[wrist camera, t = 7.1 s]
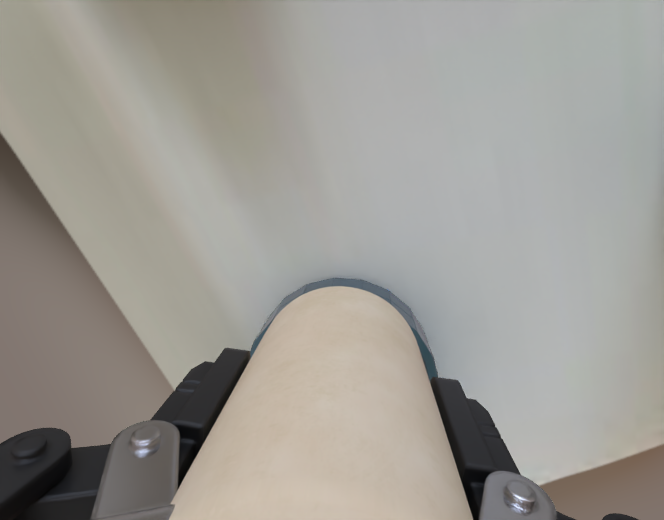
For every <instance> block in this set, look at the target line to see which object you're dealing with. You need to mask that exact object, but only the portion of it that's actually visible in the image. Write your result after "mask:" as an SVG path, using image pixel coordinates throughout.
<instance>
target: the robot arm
mask: <svg viewBox="0 0 664 520" xmlns="http://www.w3.org/2000/svg"><path fill="white" fill-rule="evenodd" d="M250 359H251V355H250V351H245V350H238V349H231V348H225V349H224V350H223V352H222V353H221V354H220V356H219V357H218V359H217V360H216V361H215V363H212V362H204V363H202V364H200V365H198V366H197V367H195V368H193V369H191V371H190V372H189V373H188V374H187V375H186V377H185V378H184V379H183V382H181V383H180V384H179V385H178V387H177V388H176V390H175V391H174V392H173V393H172V394H171V395H170V397H169V398H168V399H167V400H166V401H165V403H164V404H163V405H162V406H161V408H160V409H159V410H158V411H157V413H156V414H155V415H154V416H153V417H152V419H151V420H149V421H143V422H140V423H136V424H134V425H131V426H129V427H127V428H126V429H124V430H123V431H121V432H120V433H119V434H118V435H117V436H116V437H115V438H114V440H113V441H112V443H111V444H108V445H100V446H90V447H79V448H71V439H70V436H69V434H68V433H67V432H65V431H63V430H61V429H56V428H41V429H34V430H30V431H27V432H23V433H21V434H18V435H16V436H14V437H11V438H9V439H8V440H6V441H4V442H3V443H1V444H0V520H169V518H170V516H171V514H172V512H173V510H174V507H175V504H171V502H172V500H173V498H174V496H175V495H176V493H177V490H178V488H179V487H180V485H181V483H182V481H183V479H184V478H185V476H186V474H187V472H188V470H189V469H190V467H191V465H192V463H193V461H194V460H195V458H196V456H197V454H198V452H199V451H200V449H201V447H202V445H203V444H204V442H205V440H206V438H207V436H208V435H209V433H210V431H211V429H212V427H213V426H214V424H215V422H216V420H217V418H218V417H219V415H220V413H221V411H222V409H223V408H224V406H225V404H226V402H227V400H228V399H229V397H230V395H231V393H232V392H233V390H234V388H235V386H236V384H237V383H238V381H239V379H240V377H241V375H242V374H243V372H244V370H245V368H246V366H247V365H248V363H249V361H250ZM430 384H431V387H432V391H433V394H434V397H435V400H436V403H437V406H438V409H439V413H440V416H441V419H442V422H443V425H444V428H445V432H446V435H447V438H448V441H449V444H450V447H451V451H452V454H453V457H454V460H455V463H456V466H457V469H458V473H459V476H460V479H461V482H462V485H463V488H464V492H465V495H466V498H467V501H468V504H469V507H470V511H471V514H472V517H473V520H575V519H573V518H570V517H568V516H565V515H563V514H561V513H559V512H557V511H556V509H555V506H554V504H553V502H552V500H551V499H550V497H549V496H548V495H547V493H545V492H544V490H543V489H542V488H540V487H539V486H538V485H537V484H535V483H534V482H533V481H531V480H529V479H528V478H526V477H524V476H521V474H520V472H519V470H518V469H517V467H516V465H515V463H514V461H513V459H512V457H511V455H510V453H509V451H508V449H507V447H506V445H505V443H504V441H503V439H501V436H500V434H499V432H498V430H497V428H496V427H495V424H494V422H493V420H492V418H491V416H490V414H489V412H488V411H487V410H486V409H485V408H484V407H483V406H482V405H480V404H479V403H478V402H477V401H476V400H474V399H467V398H466V396H465V394H464V391H463V389H462V387H461V385H460V383H459V381H458V380H452V379H445V378H438V377H432V379H431V381H430ZM602 520H638V519H636V518H633V517H630V516H627V515H623V514H608V515H606V516H605V517H604V518H603V519H602Z"/></svg>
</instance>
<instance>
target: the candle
mask: <svg viewBox="0 0 664 520" xmlns="http://www.w3.org/2000/svg"><path fill="white" fill-rule="evenodd" d="M171 504H175V507H174V510H173V512H172V514H171V516H170V518H169V520H473V517H472V514H471V511H470V507H469V504H468V501H467V498H466V495H465V492H464V488H463V485H462V482H461V479H460V476H459V473H458V469H457V466H456V463H455V460H454V457H453V454H452V451H451V447H450V444H449V441H448V438H447V435H446V432H445V428H444V425H443V422H442V419H441V416H440V413H439V409H438V406H437V403H436V400H435V397H434V394H433V391H432V387H431V384H430V381H429V378H428V375H427V372H426V368H425V365H424V362H423V359H422V356H421V353H420V349H419V347H418V344H417V341H416V338H415V336H414V334H413V332H412V330H411V328H410V326H409V325H408V323H407V322H406V320H405V319H404V318H403V316H402V315H401V314H400V313H399V312H398V311H397V310H396V309H395V308H394V307H393V306H392V305H391V304H389V303H388V302H387V301H385V300H384V299H382V298H381V297H379V296H377V295H375V294H373V293H371V292H368V291H365V290H362V289H358V288H353V287H344V286H334V287H325V288H319V289H316V290H313V291H310V292H308V293H305V294H303V295H301V296H299V297H298V298H296V299H295V300H293V301H292V302H290V303H289V304H288V305H287V306H286V307H284V308H283V309H282V310H281V311H280V312H279V314H278V315H277V316H276V317H275V318H274V320H273V321H272V323H271V324H270V326H269V328H268V329H267V331H266V333H265V334H264V336H263V338H262V340H261V341H260V343H259V345H258V347H257V348H256V350H255V352H254V354H253V356H252V357H251V359H250V361H249V363H248V365H247V366H246V368H245V370H244V372H243V374H242V375H241V377H240V379H239V381H238V383H237V384H236V386H235V388H234V390H233V392H232V393H231V395H230V397H229V399H228V400H227V402H226V404H225V406H224V408H223V409H222V411H221V413H220V415H219V417H218V418H217V420H216V422H215V424H214V426H213V427H212V429H211V431H210V433H209V435H208V436H207V438H206V440H205V442H204V444H203V445H202V447H201V449H200V451H199V452H198V454H197V456H196V458H195V460H194V461H193V463H192V465H191V467H190V469H189V470H188V472H187V474H186V476H185V478H184V479H183V481H182V483H181V485H180V487H179V488H178V490H177V493H176V495H175V496H174V498H173V500H172V502H171Z"/></svg>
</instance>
